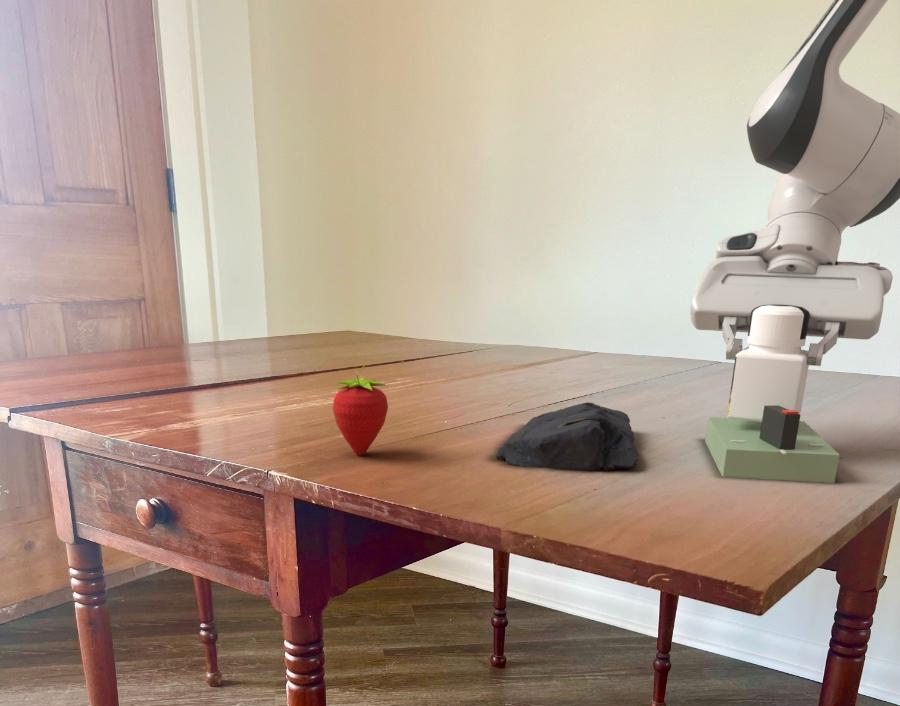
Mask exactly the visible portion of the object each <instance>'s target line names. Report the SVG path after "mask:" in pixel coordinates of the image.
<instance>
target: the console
mask: <svg viewBox="0 0 900 706" xmlns="http://www.w3.org/2000/svg"><path fill="white" fill-rule="evenodd" d="M706 423H707V424H706V431H705V440H704V442H705V444H706V446H707V448H708V450H709V452H710V454H711V457H712V459H713V460H714V462H715V465H716V466H717V468H718V470H719V473H720V474H721V477H723V478H738V479H756V480H775V481H790V482H791V481H792V482H793V481H794V482H810V483H829V484H831V483H832V484H835V482H836V476H837V471H838V466H839V462H840V457H841V456H840V453H838V451H836V449H834V448H833V447H832V446H831V445H830V444H829V443H828V442H827V441H825V439H823V437H822V436H821V435H819V434H818V433H817V432H816V431H815V430H814V429H813V428H812V427H811V426H810V425H809V424H808V423H807V422H805V421H804V420H800V421H799V427H798V433H797V439H796V444H795V449H779V448H777V447H775V446H773V445H771V444H769V443H767V442H765V441H763V440H762V439H760V438H759V437H760V430H761V424H762V422H756V421H746V420H736V419H729V418H728V417H721V416H719V417H718V416H708V417H707V422H706Z"/></svg>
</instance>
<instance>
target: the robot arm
mask: <svg viewBox="0 0 900 706" xmlns="http://www.w3.org/2000/svg"><path fill="white" fill-rule="evenodd" d="M888 1H889V0H833V2H832V3H831V4H830V6H829V7H828V9H827V10H826V11H825V13H824V14H823V15H822V17H821V18H820V20H819V21H818V22H817V24H816V25H815V27H814V28H813V29H812V31H811V32H809V33H810V34H809V35H808V36H807V38H806V39H805V40H804V42H802V44H801V46H799V48H798V49H797V51H796V52H795V54H794V55H793V56H792V58H791V59H790V60H789V61H788V62H787V64H786V65H785V66H784V67H783V69H782V70H781V71H780V72H779V73H778V75H777V76H775V78H774V79H773V80H772V81H771V82H770V84H768V86H766V87H765V90H764V91H763V92H762V93H761V95H760V96H759V98H758V100H757V101H756V103H755V104H754V107H753V108H752V111H751V114H750V116H749V118H748V120H747V123H746V132H747V140H748V143H749V148H750V151H751V153H752V156H753V159H754V161H755V163H756V164H759V165H761V166H764V167H766V168H768V169H771V170H773V171H775V172H777V173H779V174H778V177H777V180H776V182H775V185H774V188H773V191H772V194H771V197H770V201H769V205H768V209H767V222H766V225H765V226H764V227H762V228H758V229H755V230H752V231H748V232H744V233H740V234H735V235H731V236H727V237H723V238H721V239H720V240H719V241H718V242H717V245H716V250H715V258H714V259H713V260H712V261H710V262H709V263H707V265H706V266H705V268H704V269H703V270H702V273H701V275H700V277H699V279H698V282H697V284H696V287H695V289H694V292H693V294H692V296H691V297H692V298H691V302H690V307H689V308H690V311H689V313H690V322H691V324H692V325H693V327H694V328H695V329H696V330H697V331H698V330H699V331H714V332H715V331H716V332H722V339H723V341H724V343H725V344H726V349H725V360H728V361H729V360H730V361H735V356H736V354H738V353H739V352H740V351H742V350H743V347H744V346H743V343H744V342H743V341H744V340H743V338H736V335H737V333H746V334H748V330H749V324H750V317H751V311H752V310H753V309H754V308H756V307H758V306H761V305H774V304H776V305H792V306H799V307H803V308H804V309H806V310H808V311H809V313H810V317H809V323H808V329H807V335H806V337H817V338H822V339H821V340H820V341H819V342H818V343H817V342H816V343H811V342H810V343H809V346H808V350H807V351H808V355H807V365H809V366H812V367H813V366H814V367H821V365H822V361H823V356H824V355H826V354H827V353H828V352H829V351H830V350H832V348H834V347H835V346H836V344H837V343H838V339H849V340H870V339H871V338H873V337H874V336H875V335H877V334H878V333H879V330H880V327H881V321H882V316H883V311H884V303H885V302H884V300H885V296H886V295H887V294H888V293H889V292H890V290H891V288H892V283H893V273H892V271H891V270H889V269H888V268H886V267H885V266H882V265H881V263H878V262H873V261H872V262H871V261H870V262H857V261H856V262H855V261H838V259H839V253H840V249H841V245H842V234H843V232H844V231H845V229H847V228H848V227H849V228H853V227H856V226H860V225H861V224H863V223H866V222H867V221H869V220H871V219H873V218H875V217H877V216H879V215H881V214H882V213H884V212H886V211H887V210H888V209H890V208H891V207H893V205H894V204H896V203H897V202H898V200H900V112H898V111H896V110H894V109H893V108H891V107H889V106H888V105H886V104H884V103H883V102H879V101H877V100H875V99H874V98H872V97H870V96H869V95H867V94H865V93H864V92H861V90H859V89H857V88H855V87H853V86H852V85H850V84H848V83H847V82H845V81H844V80H843V79H842V77H841V74H840V68H841V67H840V66H841V64H842V63H843V61H844V60H845V58H847V56H848V55H849V53H850V52H851V51H852V49H853V48H854V46H855V45H856V43H858V41H859V40H860V38H861V37H862V36H863V34H864V33H865V32H866V30H867V29H868V28H869V26H870V25H871V24H872V22H873V21H874V20H875V18H876V17H877V16H878V14H879V13H880V12H881V10H882V9H883V8H884V6H885V5H886V3H887V2H888Z"/></svg>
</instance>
